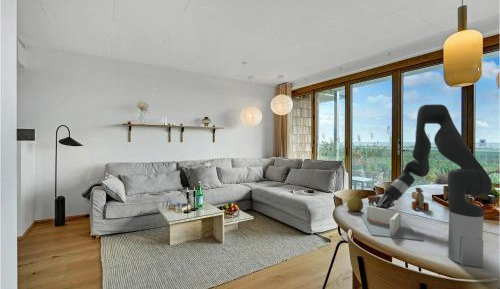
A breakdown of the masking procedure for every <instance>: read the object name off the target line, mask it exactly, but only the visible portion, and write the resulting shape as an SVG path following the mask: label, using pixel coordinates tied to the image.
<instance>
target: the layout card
mask: <svg viewBox="0 0 500 289" xmlns="http://www.w3.org/2000/svg"><path fill="white" fill-rule="evenodd" d="M359 215H360V217H361V218H362V220H363V222H364V225H365V226H366V229H367V230H368V232H369V233H370V236H372V237H374V236H375V237H382V238H383V237H384V238H393V239H403V240H412V241H422V242H424V241H425V240H424V239H423V238H422V237H421V236H420V235H419V234H418V233H417V232H416V231H415V230H414V229H413V228H412V227H411V226H410V225H409V224H408V223H407V222H406V221H405V220H404V219H402V218H401V227H399V228H398V230H397V231H396V232H395V236H391V235H390V224H386V223H382V222H378V221H374V220H370V219H367V213H360V214H359Z"/></svg>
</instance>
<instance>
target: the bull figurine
mask: <svg viewBox="0 0 500 289" xmlns="http://www.w3.org/2000/svg"><path fill="white" fill-rule="evenodd" d="M377 196H379V197H381V196H382V195H368V197H367V200H368V201H367V202H368V206H372V207H376V206H375V203H376V199H377Z"/></svg>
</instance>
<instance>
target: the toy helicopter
mask: <svg viewBox="0 0 500 289" xmlns="http://www.w3.org/2000/svg"><path fill="white" fill-rule="evenodd" d="M414 189H415V191H412V192H411V199H413V201H411V208H412V210H417V209H423V210H424V211H429V209H430V205H429V203H428V202H426V201H425V196H424V190H423V189H422V188H420V187H415V188H414Z"/></svg>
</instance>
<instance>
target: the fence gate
mask: <svg viewBox="0 0 500 289" xmlns="http://www.w3.org/2000/svg"><path fill="white" fill-rule="evenodd" d="M396 212H397V211H396V210H392V209H391V210H390V209H388V208H387V209H382V208H377V207H376V206H375V207H373V205H371V206H369V205H367V206H366V214H367V219H370V220H374V221H378V222H382V223H386V224H390V219H391V218H392V217H393V216H394V215H395V214H396Z"/></svg>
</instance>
